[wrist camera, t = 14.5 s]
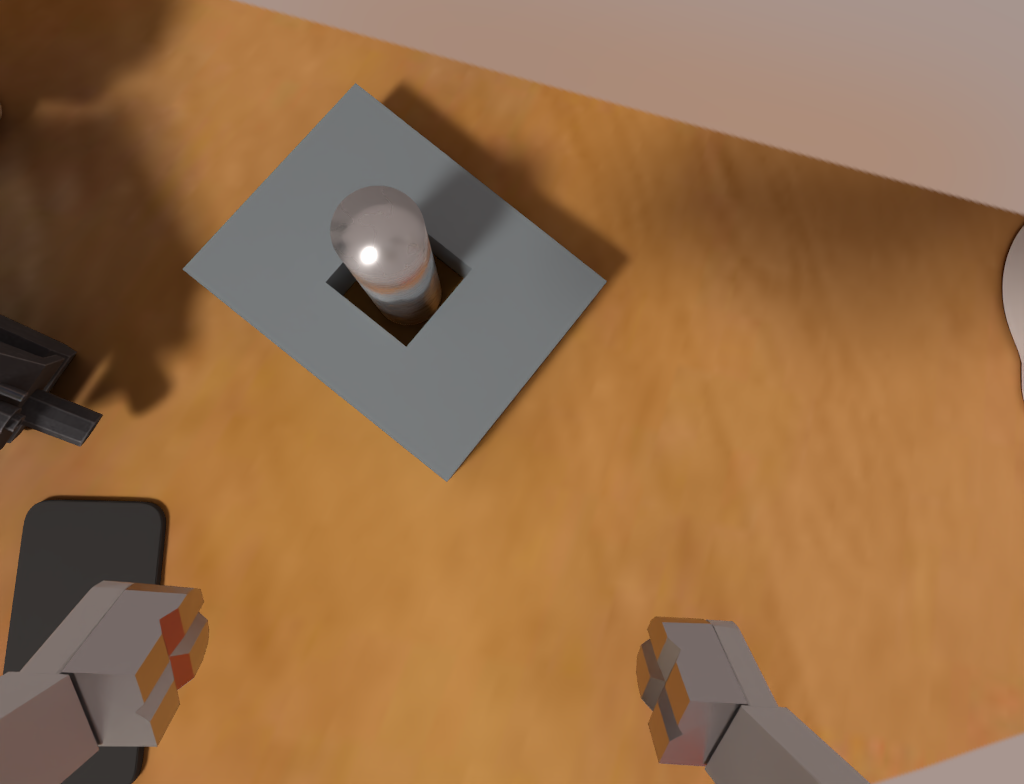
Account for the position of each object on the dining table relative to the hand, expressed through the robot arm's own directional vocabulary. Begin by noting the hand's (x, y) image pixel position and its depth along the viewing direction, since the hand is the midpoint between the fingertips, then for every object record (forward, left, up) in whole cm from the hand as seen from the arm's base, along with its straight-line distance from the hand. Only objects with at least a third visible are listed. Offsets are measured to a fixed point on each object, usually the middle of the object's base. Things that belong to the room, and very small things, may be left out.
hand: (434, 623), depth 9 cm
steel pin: (+11, -7, -20) cm, 24 cm away
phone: (+12, +19, -21) cm, 30 cm away
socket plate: (+11, -7, -20) cm, 24 cm away
